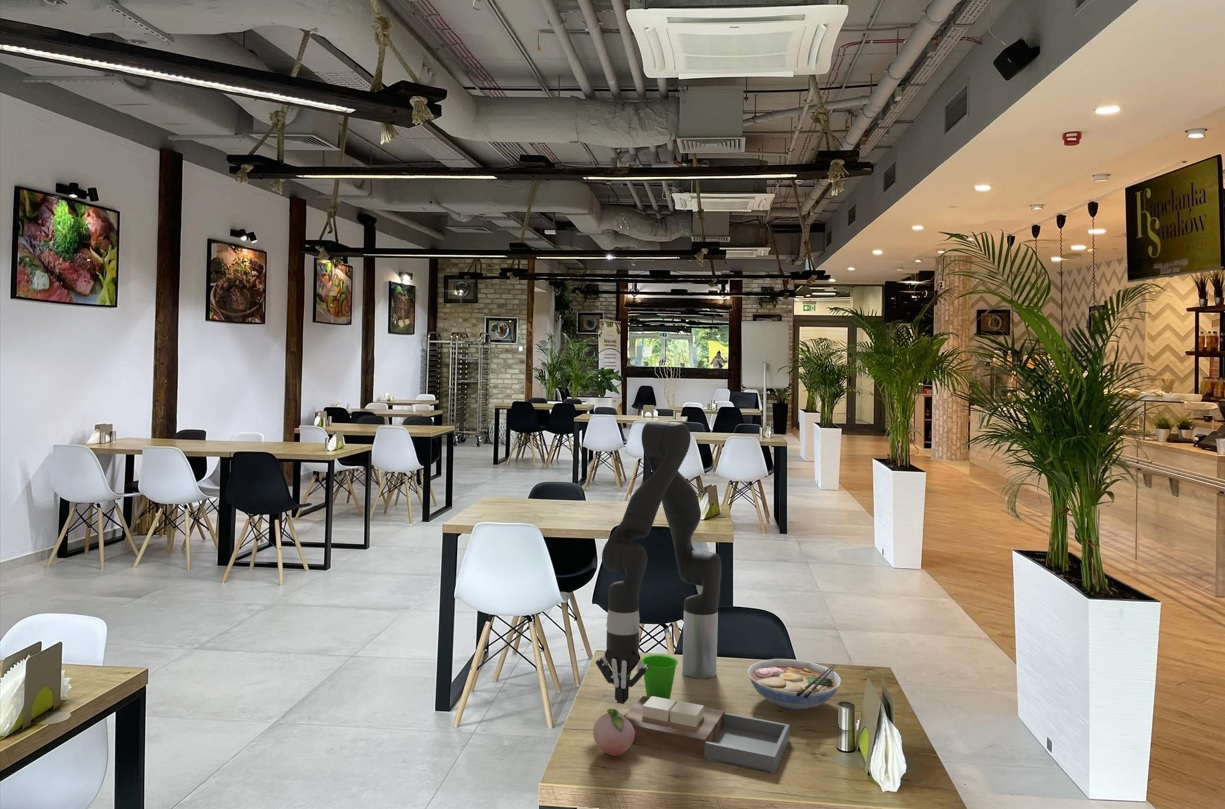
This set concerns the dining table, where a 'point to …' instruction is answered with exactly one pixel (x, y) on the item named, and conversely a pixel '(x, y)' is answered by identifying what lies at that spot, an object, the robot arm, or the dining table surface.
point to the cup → (659, 675)
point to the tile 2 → (687, 713)
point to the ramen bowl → (794, 682)
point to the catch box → (749, 743)
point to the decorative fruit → (613, 733)
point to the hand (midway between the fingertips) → (621, 702)
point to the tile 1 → (658, 708)
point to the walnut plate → (675, 731)
